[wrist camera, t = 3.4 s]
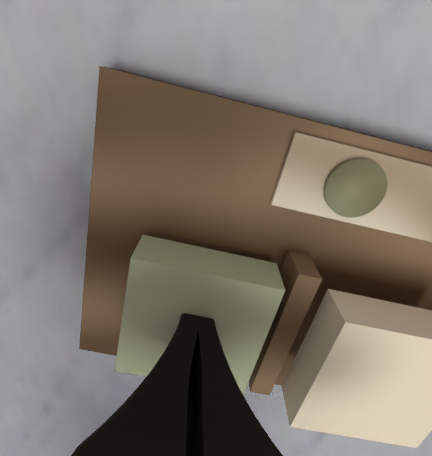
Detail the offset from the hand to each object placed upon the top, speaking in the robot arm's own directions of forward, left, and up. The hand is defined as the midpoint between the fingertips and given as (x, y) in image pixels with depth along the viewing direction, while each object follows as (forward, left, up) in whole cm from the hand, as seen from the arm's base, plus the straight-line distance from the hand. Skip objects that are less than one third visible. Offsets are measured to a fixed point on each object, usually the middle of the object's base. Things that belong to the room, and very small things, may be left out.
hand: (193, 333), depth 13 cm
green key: (0, 0, -2) cm, 2 cm away
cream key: (0, -8, -1) cm, 8 cm away
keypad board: (+2, -8, -4) cm, 9 cm away
